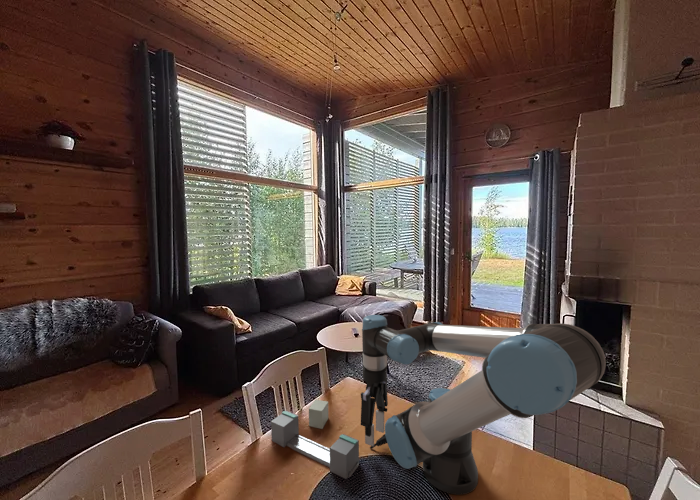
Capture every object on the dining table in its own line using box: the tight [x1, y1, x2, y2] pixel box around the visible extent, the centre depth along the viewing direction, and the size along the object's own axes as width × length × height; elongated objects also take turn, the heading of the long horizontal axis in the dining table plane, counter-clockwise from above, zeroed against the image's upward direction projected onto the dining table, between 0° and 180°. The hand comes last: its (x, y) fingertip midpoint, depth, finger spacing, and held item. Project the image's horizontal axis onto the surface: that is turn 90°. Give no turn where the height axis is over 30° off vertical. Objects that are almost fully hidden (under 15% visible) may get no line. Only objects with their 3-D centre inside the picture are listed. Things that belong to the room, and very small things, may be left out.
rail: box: [285, 434, 360, 478], centre depth 95 cm, size 30×5×1 cm, turn 58°
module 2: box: [308, 399, 329, 430], centre depth 109 cm, size 5×6×7 cm
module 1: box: [270, 410, 300, 448], centre depth 101 cm, size 6×7×7 cm
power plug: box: [369, 433, 388, 450], centre depth 95 cm, size 6×8×12 cm
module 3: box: [329, 433, 360, 480], centre depth 89 cm, size 6×7×7 cm
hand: (374, 437), depth 96 cm, fingers open, 6 cm apart
